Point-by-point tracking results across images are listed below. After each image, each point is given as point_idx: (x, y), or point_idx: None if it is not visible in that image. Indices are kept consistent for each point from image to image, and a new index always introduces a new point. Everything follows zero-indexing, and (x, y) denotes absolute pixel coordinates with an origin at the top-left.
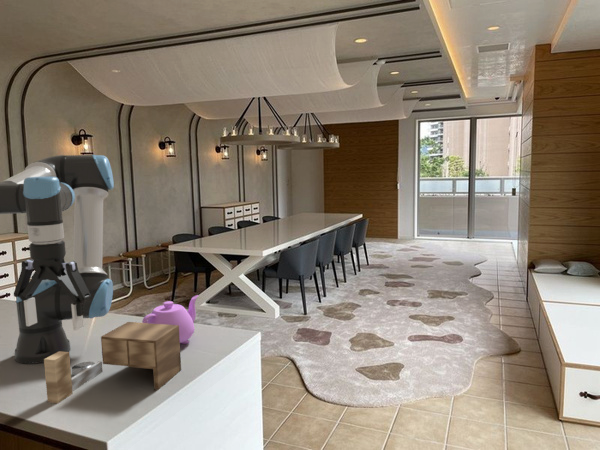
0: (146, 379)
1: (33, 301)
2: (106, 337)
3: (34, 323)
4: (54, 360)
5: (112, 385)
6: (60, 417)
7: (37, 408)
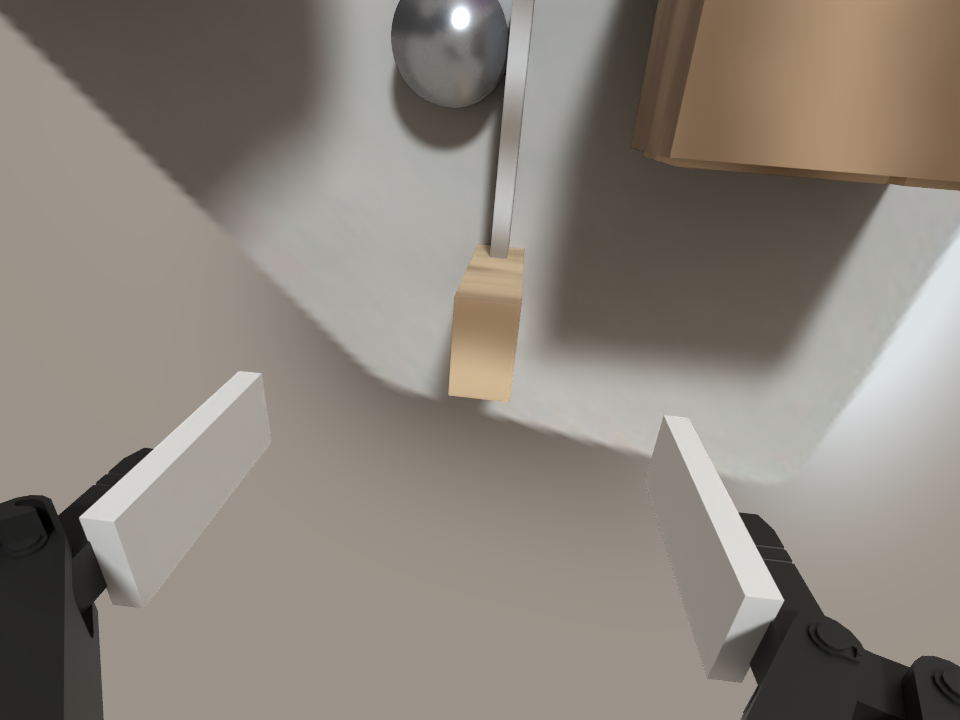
0: None
1: (145, 510)
2: (716, 160)
3: (264, 399)
4: (509, 400)
5: None
6: (581, 398)
7: None
